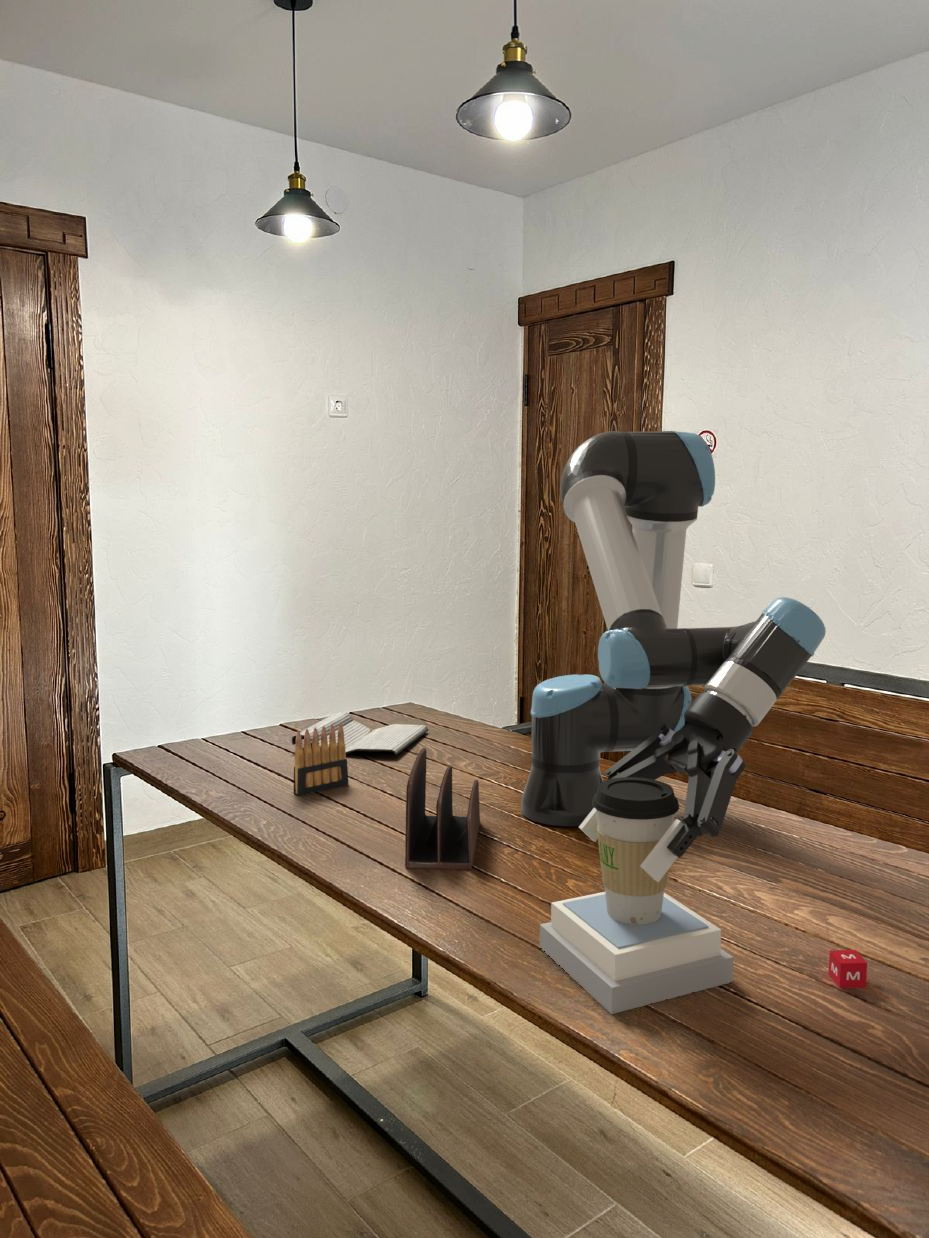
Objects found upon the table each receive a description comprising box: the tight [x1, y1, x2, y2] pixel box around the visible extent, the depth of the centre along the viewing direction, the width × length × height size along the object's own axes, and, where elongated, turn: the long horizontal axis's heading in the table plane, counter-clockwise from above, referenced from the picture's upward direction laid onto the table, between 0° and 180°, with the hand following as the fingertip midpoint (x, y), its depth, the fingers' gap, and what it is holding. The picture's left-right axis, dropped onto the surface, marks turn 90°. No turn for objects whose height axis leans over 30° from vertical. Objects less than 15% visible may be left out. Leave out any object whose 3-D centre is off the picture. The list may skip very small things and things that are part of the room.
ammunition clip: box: [293, 723, 350, 797], centre depth 174 cm, size 11×2×12 cm, turn 127°
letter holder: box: [404, 747, 481, 871], centre depth 146 cm, size 10×20×14 cm, turn 176°
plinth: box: [539, 891, 734, 1015], centre depth 109 cm, size 16×16×6 cm
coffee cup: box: [592, 777, 680, 925], centre depth 108 cm, size 10×10×15 cm
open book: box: [291, 711, 430, 759], centre depth 207 cm, size 23×24×5 cm
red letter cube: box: [827, 949, 868, 989], centre depth 106 cm, size 3×3×3 cm
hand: (616, 853), depth 107 cm, fingers open, 12 cm apart
